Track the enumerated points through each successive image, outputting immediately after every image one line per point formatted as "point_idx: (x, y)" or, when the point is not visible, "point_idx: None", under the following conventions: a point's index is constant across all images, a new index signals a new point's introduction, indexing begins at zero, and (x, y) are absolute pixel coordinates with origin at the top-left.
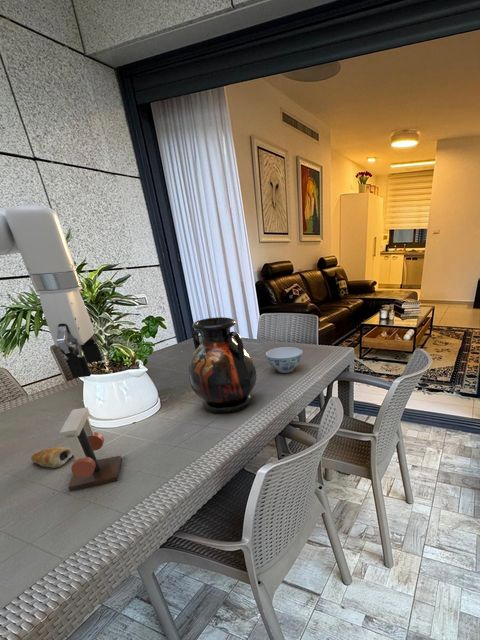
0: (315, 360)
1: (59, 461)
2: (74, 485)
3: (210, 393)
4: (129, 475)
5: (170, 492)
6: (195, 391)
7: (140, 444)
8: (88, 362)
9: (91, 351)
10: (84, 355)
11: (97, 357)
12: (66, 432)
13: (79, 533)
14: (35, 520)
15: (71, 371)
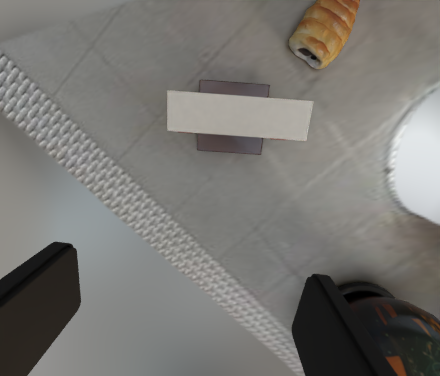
0: None
1: (294, 48)
2: (200, 89)
3: None
4: (204, 165)
5: (141, 214)
6: (371, 306)
7: (293, 180)
8: (307, 279)
9: (323, 372)
10: (328, 311)
11: (300, 342)
12: (167, 107)
13: (94, 109)
14: (142, 40)
15: (25, 264)
